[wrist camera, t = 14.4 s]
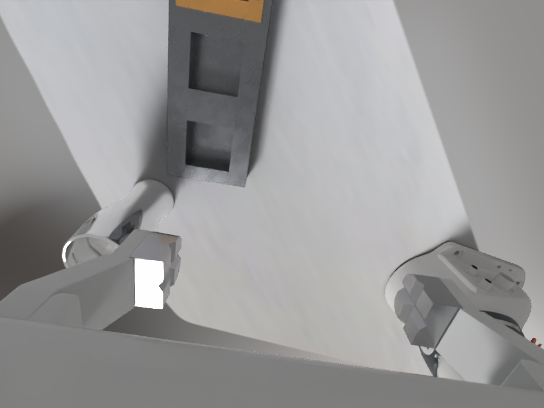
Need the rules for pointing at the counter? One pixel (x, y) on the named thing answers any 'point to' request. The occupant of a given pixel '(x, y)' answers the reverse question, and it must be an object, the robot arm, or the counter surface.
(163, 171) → the counter surface
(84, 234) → the beer glass
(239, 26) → the socket rail
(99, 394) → the robot arm
